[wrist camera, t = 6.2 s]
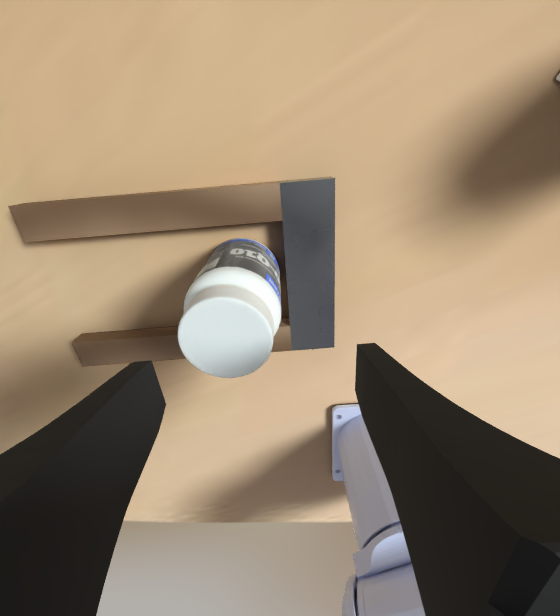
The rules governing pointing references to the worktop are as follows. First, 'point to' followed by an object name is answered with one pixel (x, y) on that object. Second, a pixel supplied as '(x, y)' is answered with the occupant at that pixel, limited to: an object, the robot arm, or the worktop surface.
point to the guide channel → (147, 218)
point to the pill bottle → (232, 310)
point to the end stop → (309, 259)
